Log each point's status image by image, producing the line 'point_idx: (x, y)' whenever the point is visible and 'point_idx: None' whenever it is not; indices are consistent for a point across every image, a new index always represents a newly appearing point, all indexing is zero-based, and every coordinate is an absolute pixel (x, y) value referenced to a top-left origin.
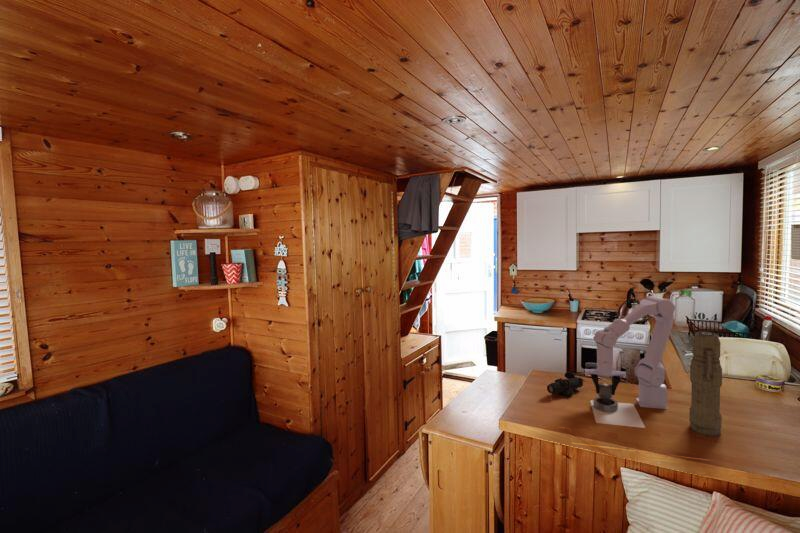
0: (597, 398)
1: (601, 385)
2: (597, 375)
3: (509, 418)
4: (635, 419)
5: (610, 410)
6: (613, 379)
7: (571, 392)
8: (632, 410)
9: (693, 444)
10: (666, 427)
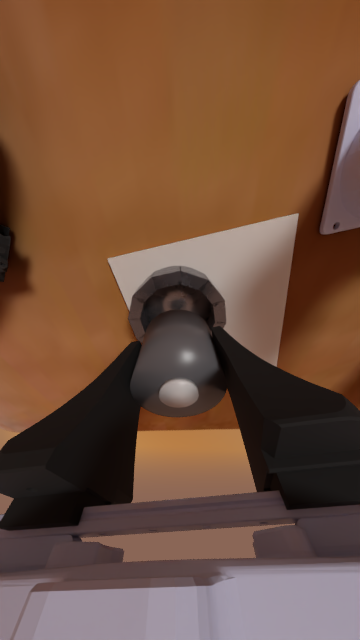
0: (142, 304)
1: (155, 401)
2: (98, 513)
3: (5, 428)
4: (262, 350)
5: None
6: (258, 489)
7: (3, 271)
8: (271, 292)
9: (347, 395)
10: (332, 353)
